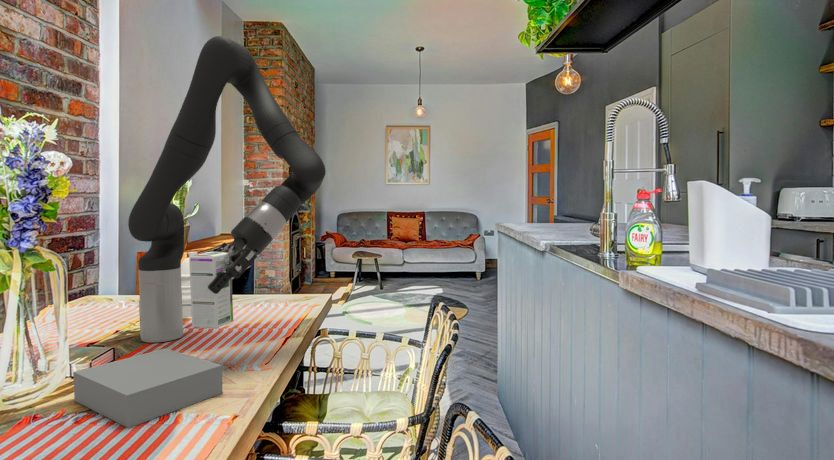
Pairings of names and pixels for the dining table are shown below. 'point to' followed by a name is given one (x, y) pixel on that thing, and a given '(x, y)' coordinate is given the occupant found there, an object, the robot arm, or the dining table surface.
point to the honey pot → (186, 286)
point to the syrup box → (205, 303)
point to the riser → (147, 385)
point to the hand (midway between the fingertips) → (204, 287)
